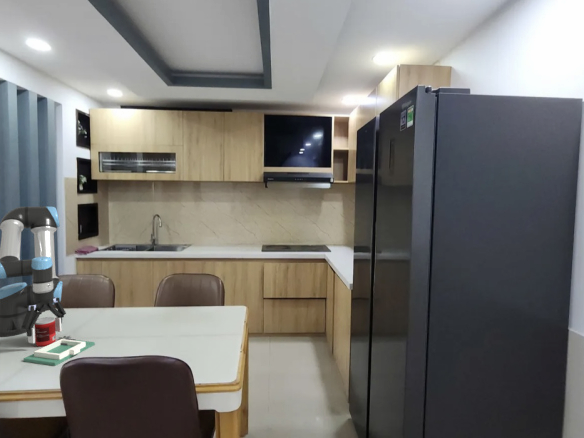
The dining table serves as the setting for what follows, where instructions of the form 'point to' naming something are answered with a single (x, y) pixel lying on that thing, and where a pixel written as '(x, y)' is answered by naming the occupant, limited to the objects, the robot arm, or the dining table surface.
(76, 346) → the board
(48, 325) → the canned food
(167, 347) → the dining table surface
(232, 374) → the dining table surface
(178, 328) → the dining table surface
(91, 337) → the dining table surface
